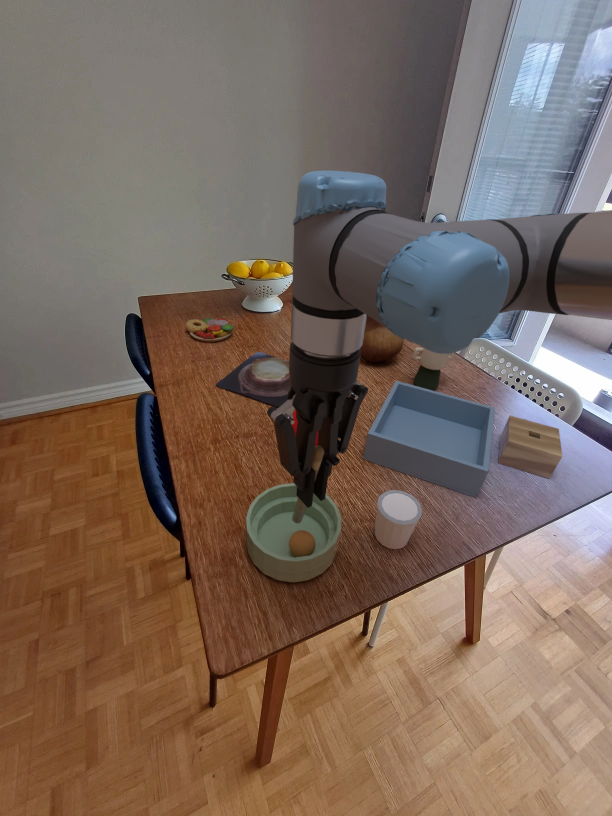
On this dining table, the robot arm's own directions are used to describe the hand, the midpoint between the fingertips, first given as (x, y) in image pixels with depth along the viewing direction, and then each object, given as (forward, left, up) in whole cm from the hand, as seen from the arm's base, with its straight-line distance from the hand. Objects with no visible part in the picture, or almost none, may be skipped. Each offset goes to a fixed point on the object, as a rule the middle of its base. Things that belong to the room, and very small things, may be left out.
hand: (310, 496), depth 55 cm
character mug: (+59, -8, -12) cm, 61 cm away
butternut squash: (+67, +8, -12) cm, 69 cm away
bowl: (0, +2, -12) cm, 12 cm away
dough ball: (-1, 0, -9) cm, 9 cm away
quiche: (+42, +29, -12) cm, 53 cm away
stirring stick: (+1, +2, -8) cm, 9 cm away
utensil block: (+41, -32, -12) cm, 53 cm away
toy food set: (+56, +57, -12) cm, 81 cm away
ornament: (+22, +10, -12) cm, 27 cm away
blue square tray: (+35, -13, -12) cm, 39 cm away
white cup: (+9, -12, -12) cm, 19 cm away
